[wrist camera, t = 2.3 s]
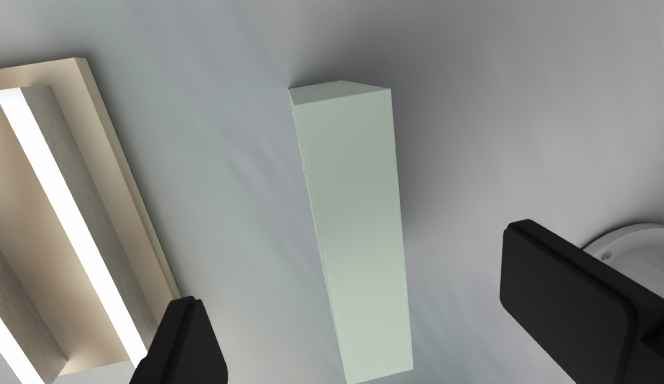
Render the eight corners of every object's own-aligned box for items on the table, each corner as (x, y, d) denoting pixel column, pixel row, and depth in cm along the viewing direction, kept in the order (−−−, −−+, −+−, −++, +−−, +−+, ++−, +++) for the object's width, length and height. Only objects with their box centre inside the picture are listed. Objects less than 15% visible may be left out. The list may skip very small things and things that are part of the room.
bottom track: (86, 58, 16) (45, 55, 13) (196, 334, 23) (184, 371, 20) (-136, 92, 15) (-228, 97, 13) (45, 368, 22) (11, 411, 19)
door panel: (340, 80, 18) (390, 88, 10) (364, 259, 23) (413, 369, 14) (288, 88, 18) (294, 105, 10) (322, 268, 23) (347, 385, 14)
